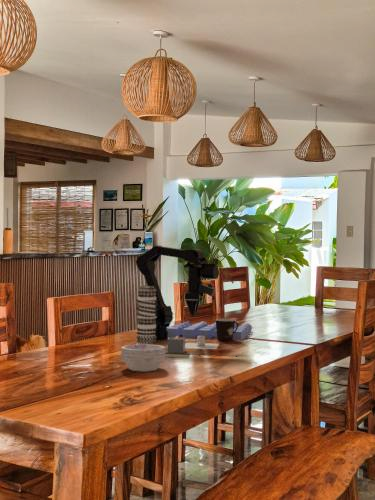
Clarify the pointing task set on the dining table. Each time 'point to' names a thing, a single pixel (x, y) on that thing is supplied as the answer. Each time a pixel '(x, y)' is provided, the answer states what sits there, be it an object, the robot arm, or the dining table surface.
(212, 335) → the blocks
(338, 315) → the dining table surface
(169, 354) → the mat
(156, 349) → the paper bowls
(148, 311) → the leaning tower model
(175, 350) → the gray cube
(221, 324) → the coffee mug
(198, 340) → the post stand
